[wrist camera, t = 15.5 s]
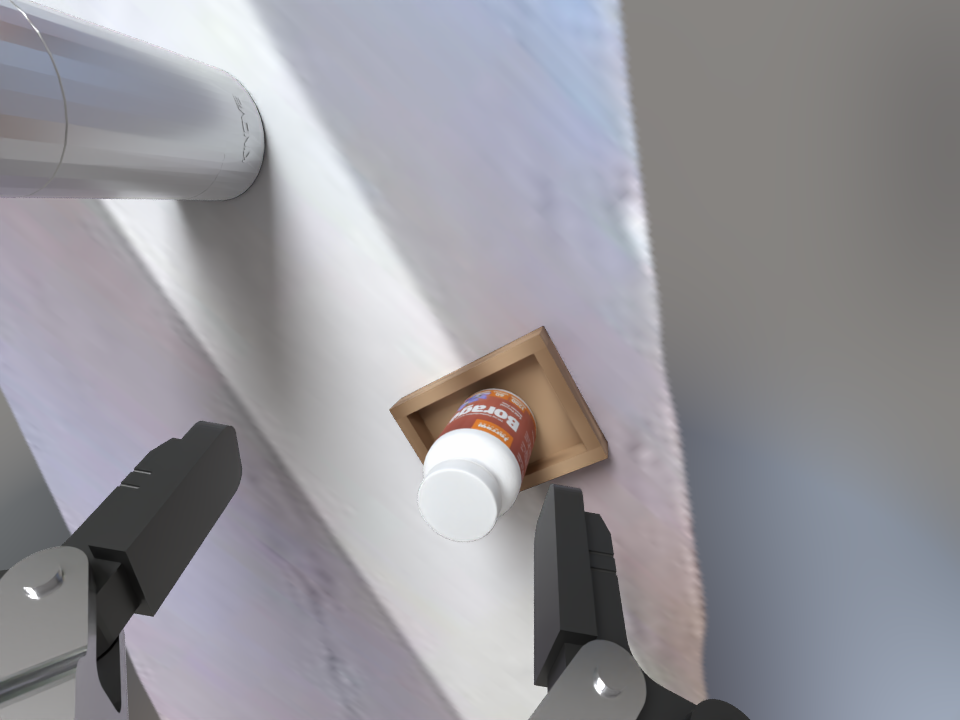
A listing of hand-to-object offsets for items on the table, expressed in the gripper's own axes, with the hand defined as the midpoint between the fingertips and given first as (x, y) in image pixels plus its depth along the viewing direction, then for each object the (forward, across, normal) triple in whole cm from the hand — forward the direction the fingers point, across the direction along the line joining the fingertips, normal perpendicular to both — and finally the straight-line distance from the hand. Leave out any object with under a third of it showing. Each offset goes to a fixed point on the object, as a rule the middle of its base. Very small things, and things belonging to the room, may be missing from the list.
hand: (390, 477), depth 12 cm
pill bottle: (+20, -4, +15) cm, 25 cm away
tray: (+20, -4, +15) cm, 26 cm away
